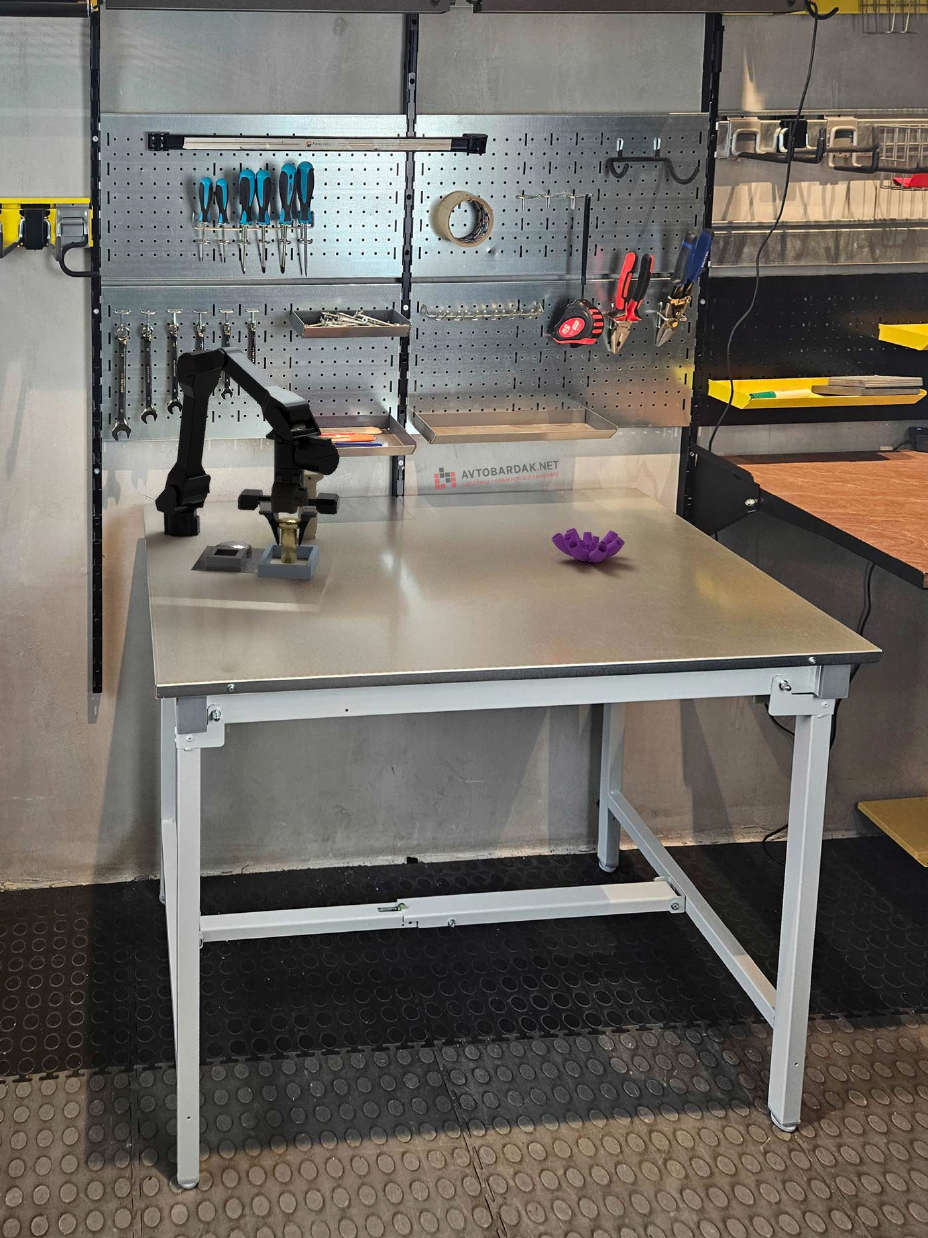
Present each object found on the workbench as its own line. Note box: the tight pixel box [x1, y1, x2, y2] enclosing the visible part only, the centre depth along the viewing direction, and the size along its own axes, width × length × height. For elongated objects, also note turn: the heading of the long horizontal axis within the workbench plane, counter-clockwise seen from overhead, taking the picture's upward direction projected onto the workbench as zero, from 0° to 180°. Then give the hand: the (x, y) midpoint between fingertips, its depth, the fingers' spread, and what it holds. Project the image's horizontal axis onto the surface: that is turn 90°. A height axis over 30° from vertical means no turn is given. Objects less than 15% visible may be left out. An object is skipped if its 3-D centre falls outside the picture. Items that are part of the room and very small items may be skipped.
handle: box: [297, 470, 325, 540], centre depth 270 cm, size 5×6×15 cm
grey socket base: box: [190, 540, 266, 574], centre depth 255 cm, size 12×16×4 cm
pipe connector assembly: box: [551, 527, 626, 563], centre depth 268 cm, size 11×15×10 cm
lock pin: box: [278, 516, 301, 565], centre depth 251 cm, size 4×4×8 cm
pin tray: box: [256, 542, 320, 580], centre depth 253 cm, size 10×14×4 cm
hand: (289, 544), depth 251 cm, fingers closed on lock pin, 4 cm apart
